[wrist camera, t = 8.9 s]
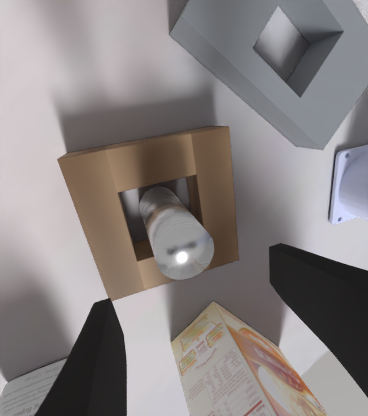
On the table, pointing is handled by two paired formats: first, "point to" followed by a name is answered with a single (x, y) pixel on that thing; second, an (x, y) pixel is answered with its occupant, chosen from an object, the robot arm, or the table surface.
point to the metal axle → (175, 235)
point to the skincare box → (28, 391)
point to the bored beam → (303, 73)
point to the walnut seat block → (143, 176)
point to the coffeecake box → (237, 371)
